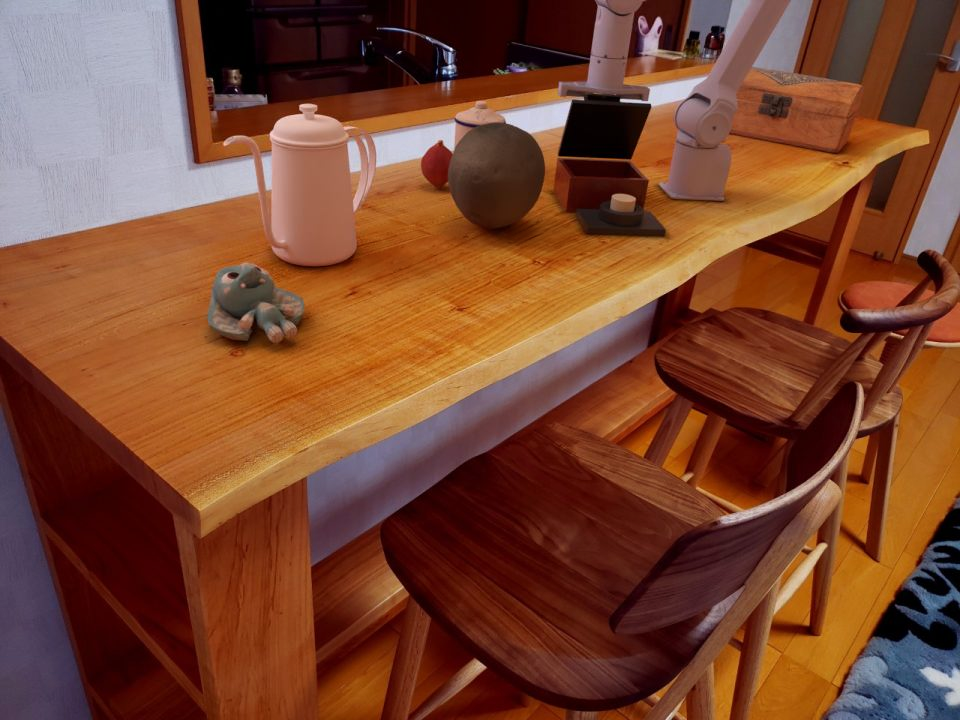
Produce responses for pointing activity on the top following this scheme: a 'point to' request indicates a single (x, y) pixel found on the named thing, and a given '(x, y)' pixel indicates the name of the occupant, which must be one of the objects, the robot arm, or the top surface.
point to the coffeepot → (312, 187)
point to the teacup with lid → (474, 119)
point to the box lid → (603, 129)
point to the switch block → (619, 222)
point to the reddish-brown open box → (596, 182)
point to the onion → (436, 164)
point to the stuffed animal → (252, 304)
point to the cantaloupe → (496, 174)
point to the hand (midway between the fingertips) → (596, 143)
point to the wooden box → (796, 109)
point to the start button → (623, 203)
